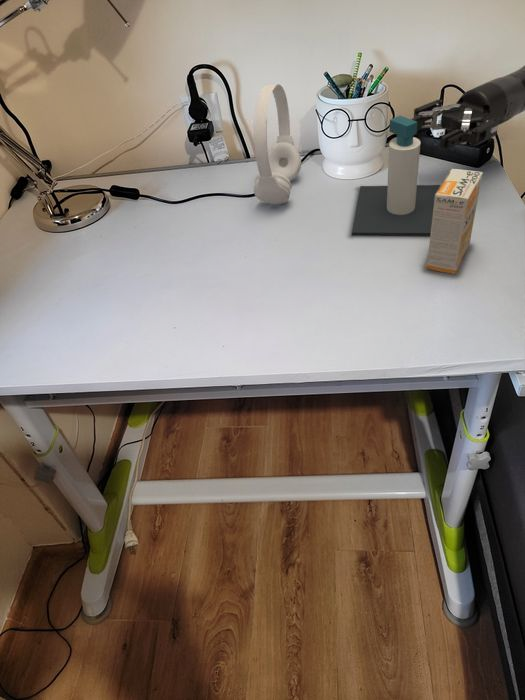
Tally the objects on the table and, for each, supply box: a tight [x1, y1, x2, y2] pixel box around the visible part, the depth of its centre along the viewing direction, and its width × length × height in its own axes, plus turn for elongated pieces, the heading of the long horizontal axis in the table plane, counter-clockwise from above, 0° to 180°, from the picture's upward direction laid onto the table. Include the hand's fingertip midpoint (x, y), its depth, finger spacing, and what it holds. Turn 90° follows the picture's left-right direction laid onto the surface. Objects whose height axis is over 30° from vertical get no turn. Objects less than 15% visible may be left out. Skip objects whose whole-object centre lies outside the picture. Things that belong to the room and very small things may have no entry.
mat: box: [351, 184, 442, 237], centre depth 92 cm, size 16×16×1 cm
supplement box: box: [426, 168, 484, 275], centre depth 77 cm, size 8×5×13 cm, turn 150°
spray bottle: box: [387, 115, 422, 215], centre depth 87 cm, size 5×5×16 cm
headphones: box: [253, 83, 302, 205], centre depth 96 cm, size 7×18×20 cm, turn 166°
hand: (422, 136), depth 85 cm, fingers open, 8 cm apart
